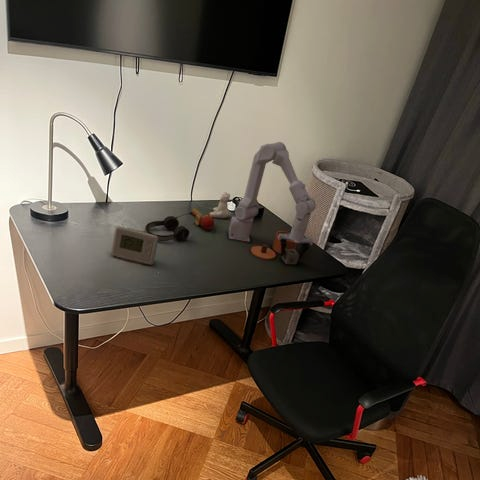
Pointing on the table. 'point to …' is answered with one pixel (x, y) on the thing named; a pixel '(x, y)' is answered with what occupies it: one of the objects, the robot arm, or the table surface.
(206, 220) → the kendama
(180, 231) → the headset
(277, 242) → the pot
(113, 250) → the digital clock
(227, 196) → the seated beast figurine
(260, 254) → the lid
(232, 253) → the table surface
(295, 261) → the dice cube
